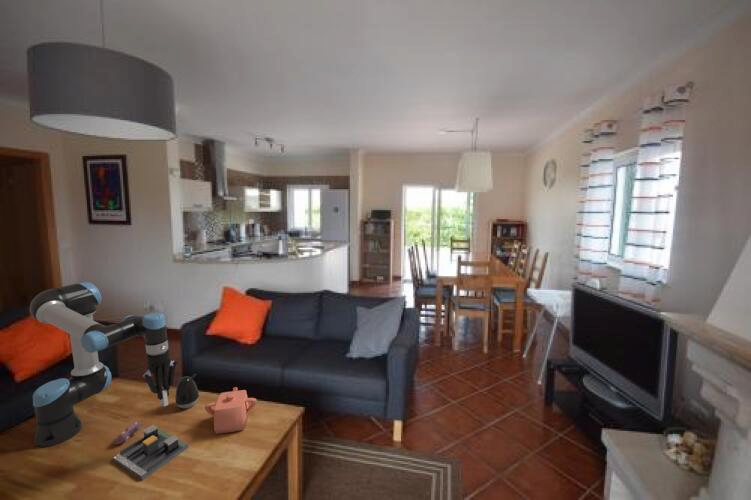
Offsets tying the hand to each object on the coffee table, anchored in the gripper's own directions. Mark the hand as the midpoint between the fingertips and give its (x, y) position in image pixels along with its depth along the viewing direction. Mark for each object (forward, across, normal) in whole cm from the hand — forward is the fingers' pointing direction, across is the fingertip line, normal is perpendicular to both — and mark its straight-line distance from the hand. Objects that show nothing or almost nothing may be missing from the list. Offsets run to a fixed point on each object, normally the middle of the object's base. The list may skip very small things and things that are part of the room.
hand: (164, 404), depth 139 cm
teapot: (+18, +23, -12) cm, 32 cm away
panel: (+18, -7, 0) cm, 19 cm away
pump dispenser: (+18, +20, +17) cm, 32 cm away
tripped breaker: (+16, -7, 0) cm, 18 cm away
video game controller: (+18, -6, +18) cm, 27 cm away
